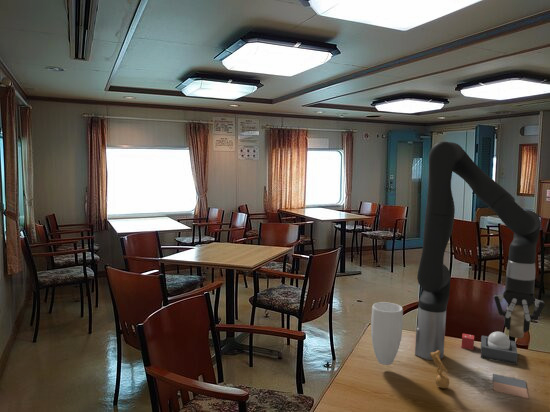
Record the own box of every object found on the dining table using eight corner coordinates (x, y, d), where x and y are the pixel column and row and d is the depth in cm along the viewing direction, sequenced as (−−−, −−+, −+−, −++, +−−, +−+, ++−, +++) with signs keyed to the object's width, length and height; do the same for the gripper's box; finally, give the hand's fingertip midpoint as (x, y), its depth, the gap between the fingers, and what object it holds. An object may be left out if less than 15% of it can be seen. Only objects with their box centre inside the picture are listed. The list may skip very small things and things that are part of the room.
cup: (364, 373, 134) (367, 308, 132) (372, 359, 144) (375, 299, 141) (397, 381, 130) (400, 315, 127) (403, 367, 139) (407, 305, 136)
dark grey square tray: (480, 357, 147) (481, 346, 146) (480, 345, 157) (481, 335, 156) (516, 364, 142) (517, 353, 142) (514, 351, 152) (515, 341, 151)
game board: (493, 390, 125) (493, 389, 125) (492, 374, 135) (492, 373, 135) (528, 398, 121) (528, 397, 121) (524, 381, 131) (524, 380, 131)
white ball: (487, 352, 148) (488, 333, 147) (487, 345, 154) (488, 327, 153) (509, 357, 144) (511, 337, 144) (508, 349, 151) (510, 330, 150)
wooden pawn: (508, 336, 127) (510, 303, 126) (507, 331, 131) (509, 299, 130) (524, 339, 125) (527, 306, 124) (523, 334, 129) (525, 301, 128)
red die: (461, 347, 155) (462, 336, 154) (461, 343, 158) (462, 332, 158) (473, 349, 153) (474, 338, 152) (473, 345, 156) (474, 334, 156)
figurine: (455, 394, 123) (458, 356, 121) (436, 395, 122) (439, 357, 121) (440, 380, 131) (443, 343, 130) (422, 381, 130) (425, 344, 129)
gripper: (494, 275, 126) (490, 330, 127) (550, 282, 120) (545, 339, 122) (493, 270, 133) (489, 322, 134) (545, 275, 127) (541, 330, 128)
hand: (516, 329), depth 128 cm, fingers closed on wooden pawn, 4 cm apart
